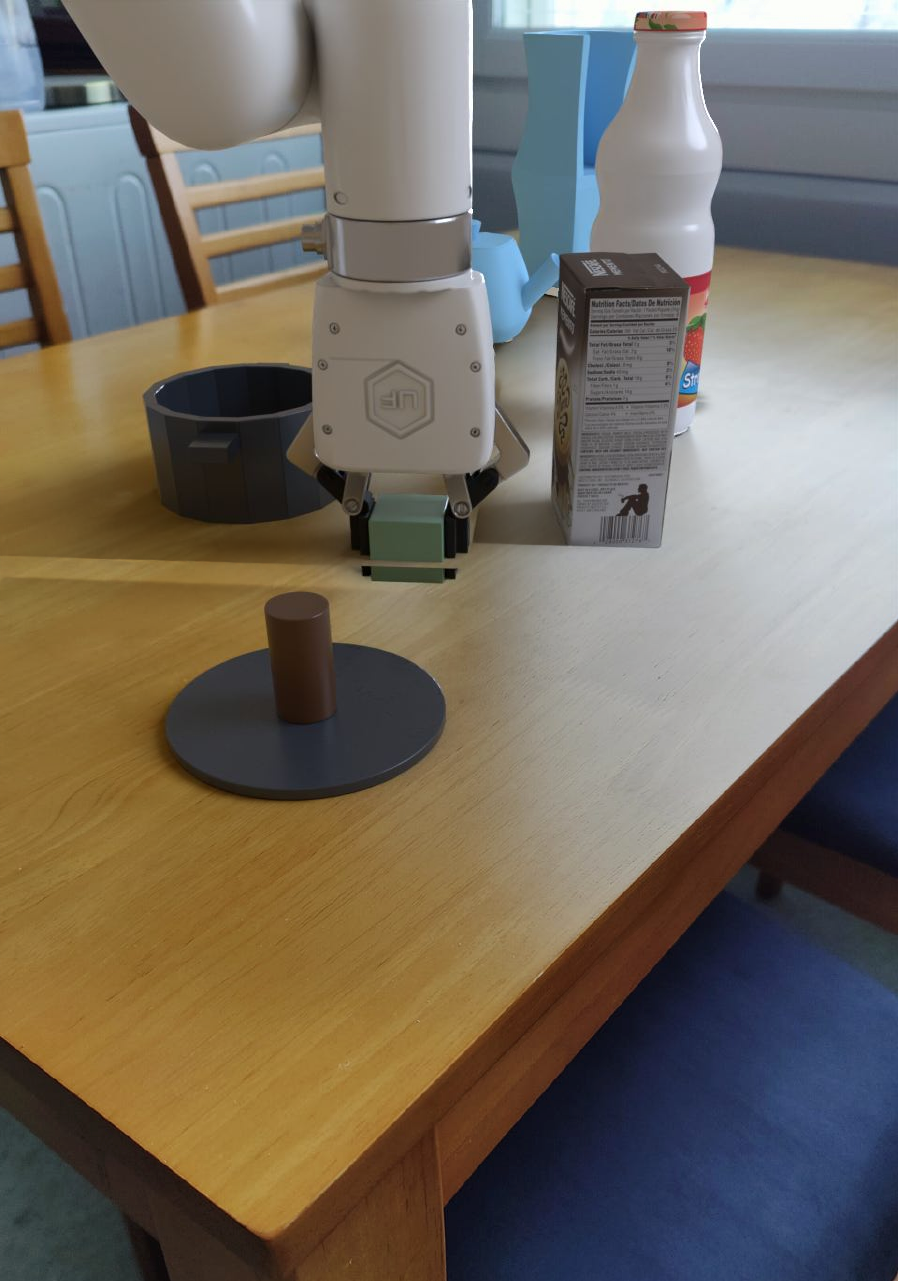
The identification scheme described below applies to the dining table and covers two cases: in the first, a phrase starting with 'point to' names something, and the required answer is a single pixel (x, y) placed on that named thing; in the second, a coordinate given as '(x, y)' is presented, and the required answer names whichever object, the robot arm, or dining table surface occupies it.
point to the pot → (232, 443)
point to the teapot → (509, 281)
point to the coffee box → (616, 396)
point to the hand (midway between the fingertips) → (411, 566)
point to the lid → (305, 712)
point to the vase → (566, 136)
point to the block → (408, 536)
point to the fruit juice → (664, 173)
